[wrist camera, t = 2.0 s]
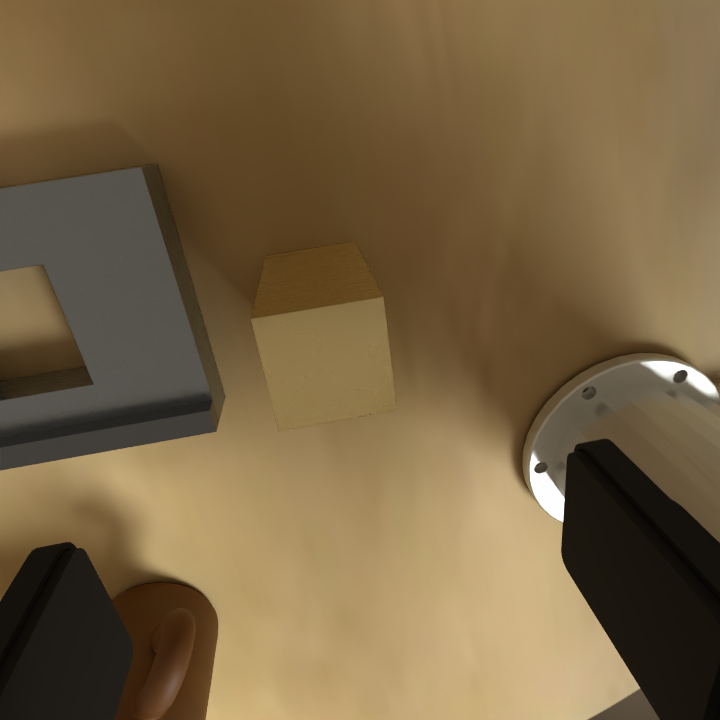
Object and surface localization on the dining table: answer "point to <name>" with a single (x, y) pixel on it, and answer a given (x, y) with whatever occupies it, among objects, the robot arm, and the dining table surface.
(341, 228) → the dining table surface
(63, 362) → the dining table surface
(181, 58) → the dining table surface
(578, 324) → the dining table surface
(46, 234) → the jig
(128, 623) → the mug
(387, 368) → the tan cardboard box
